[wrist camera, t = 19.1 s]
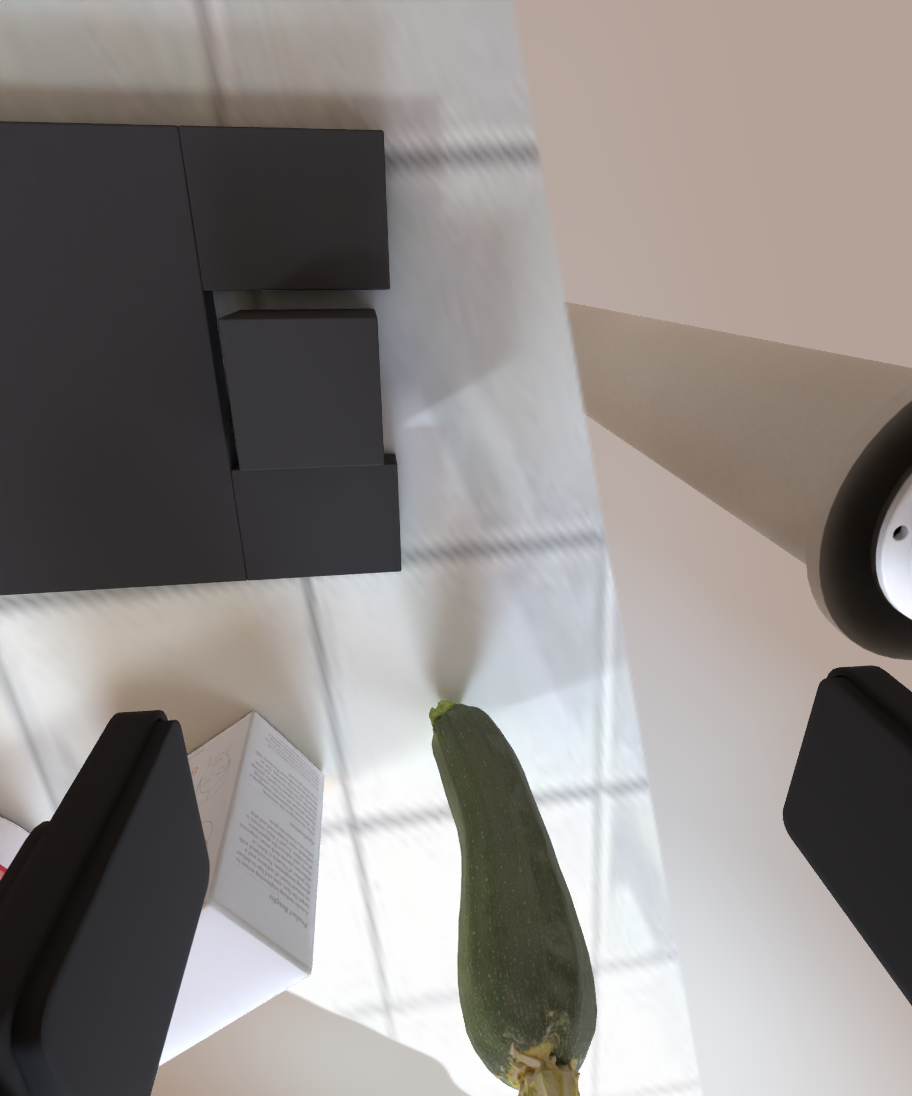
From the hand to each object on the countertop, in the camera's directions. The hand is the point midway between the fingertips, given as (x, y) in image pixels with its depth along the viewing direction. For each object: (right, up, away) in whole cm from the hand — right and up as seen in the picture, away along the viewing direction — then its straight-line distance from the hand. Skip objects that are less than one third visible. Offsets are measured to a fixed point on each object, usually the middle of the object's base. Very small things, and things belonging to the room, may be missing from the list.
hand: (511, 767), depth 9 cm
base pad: (-12, +10, +15) cm, 22 cm away
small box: (-12, -9, +23) cm, 28 cm away
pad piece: (-6, +10, +16) cm, 19 cm away
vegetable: (0, -5, +23) cm, 24 cm away
